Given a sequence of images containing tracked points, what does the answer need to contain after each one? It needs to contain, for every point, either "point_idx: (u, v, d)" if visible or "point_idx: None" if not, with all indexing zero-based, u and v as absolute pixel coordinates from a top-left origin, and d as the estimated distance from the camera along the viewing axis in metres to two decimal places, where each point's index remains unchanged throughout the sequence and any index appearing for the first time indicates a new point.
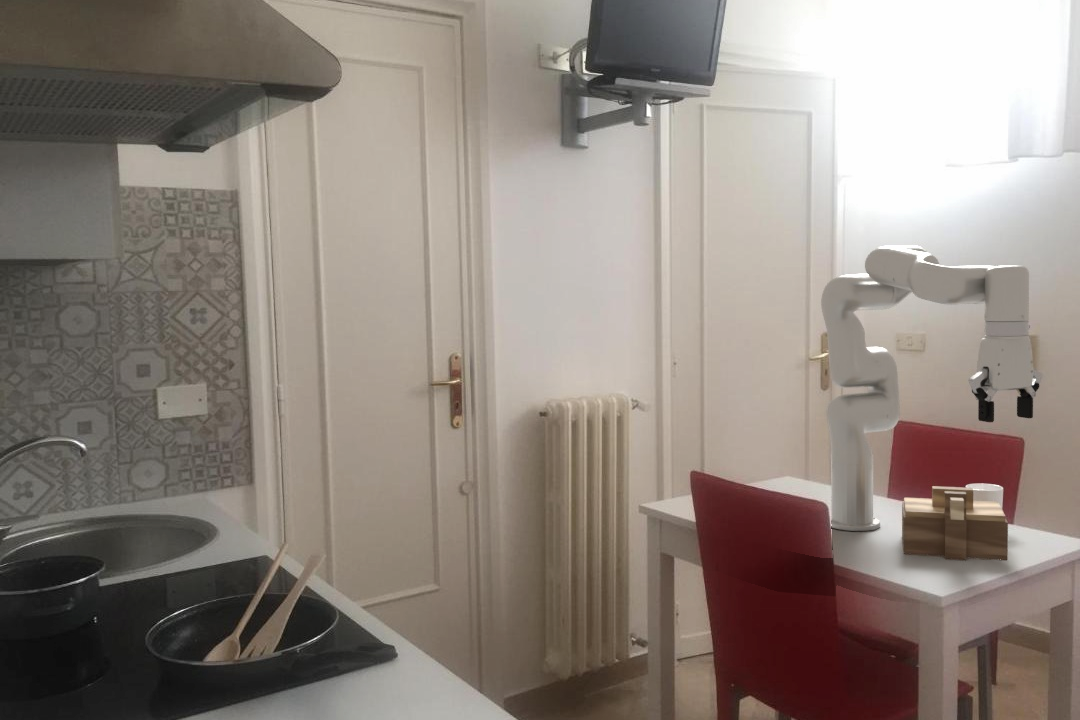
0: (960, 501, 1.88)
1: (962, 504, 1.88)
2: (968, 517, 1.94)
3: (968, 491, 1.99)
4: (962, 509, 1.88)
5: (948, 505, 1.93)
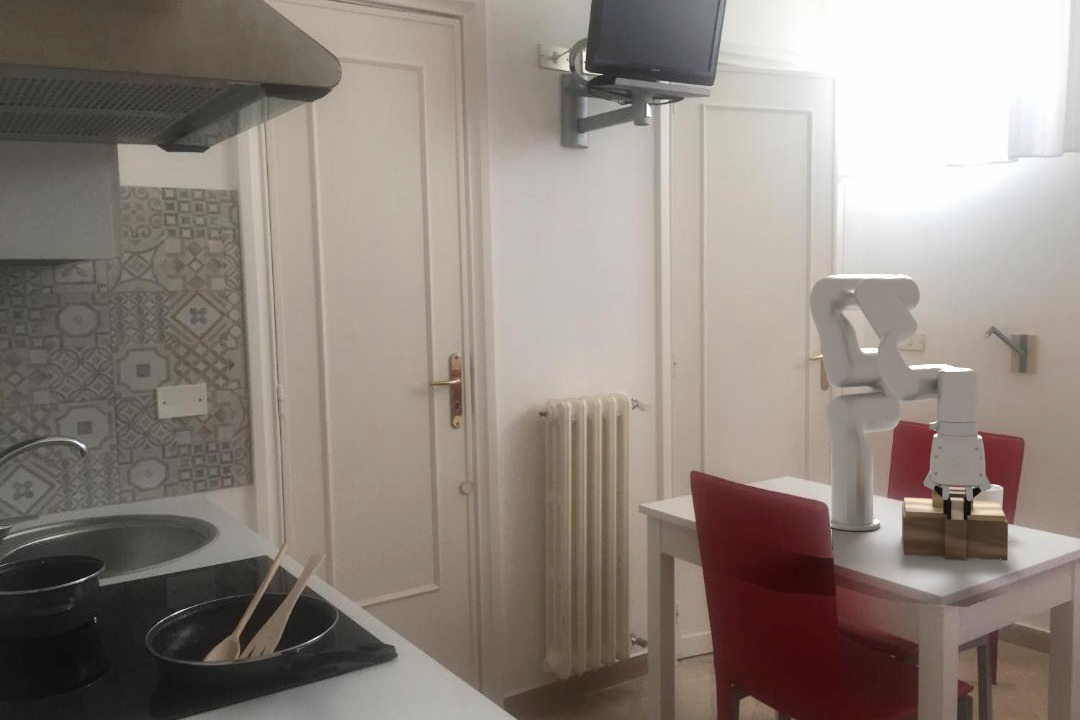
0: (960, 501, 1.88)
1: (962, 504, 1.88)
2: (968, 517, 1.94)
3: None
4: (962, 509, 1.88)
5: None
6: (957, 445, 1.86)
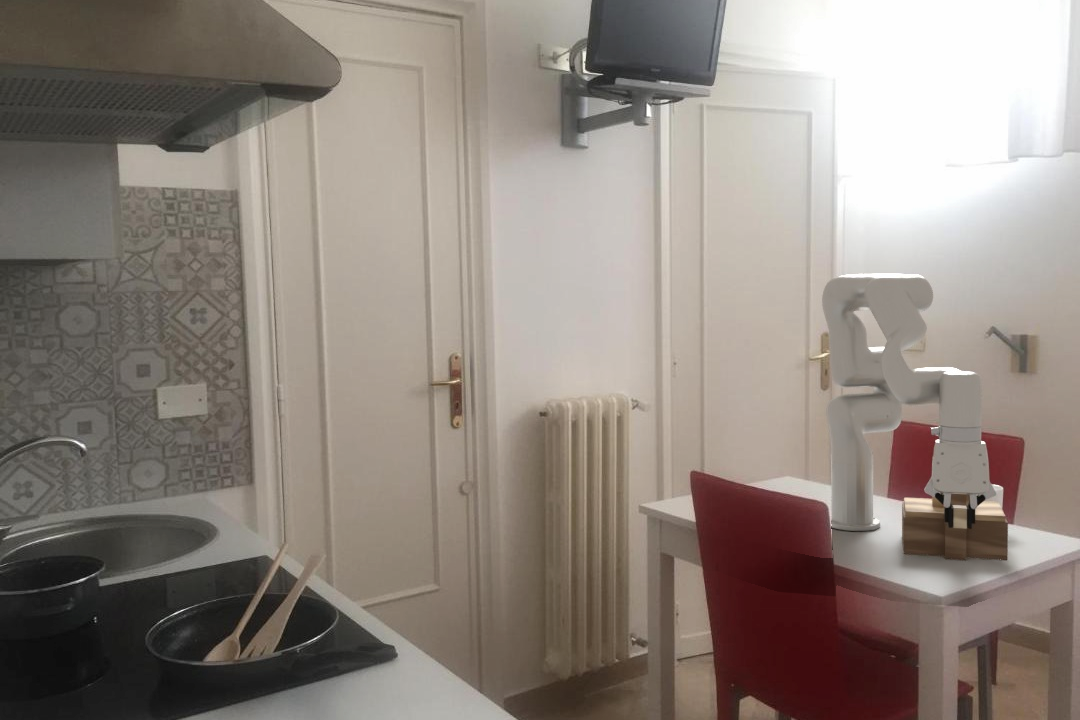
0: (963, 509, 1.82)
1: (965, 512, 1.82)
2: None
3: None
4: (965, 517, 1.82)
5: None
6: (960, 451, 1.80)
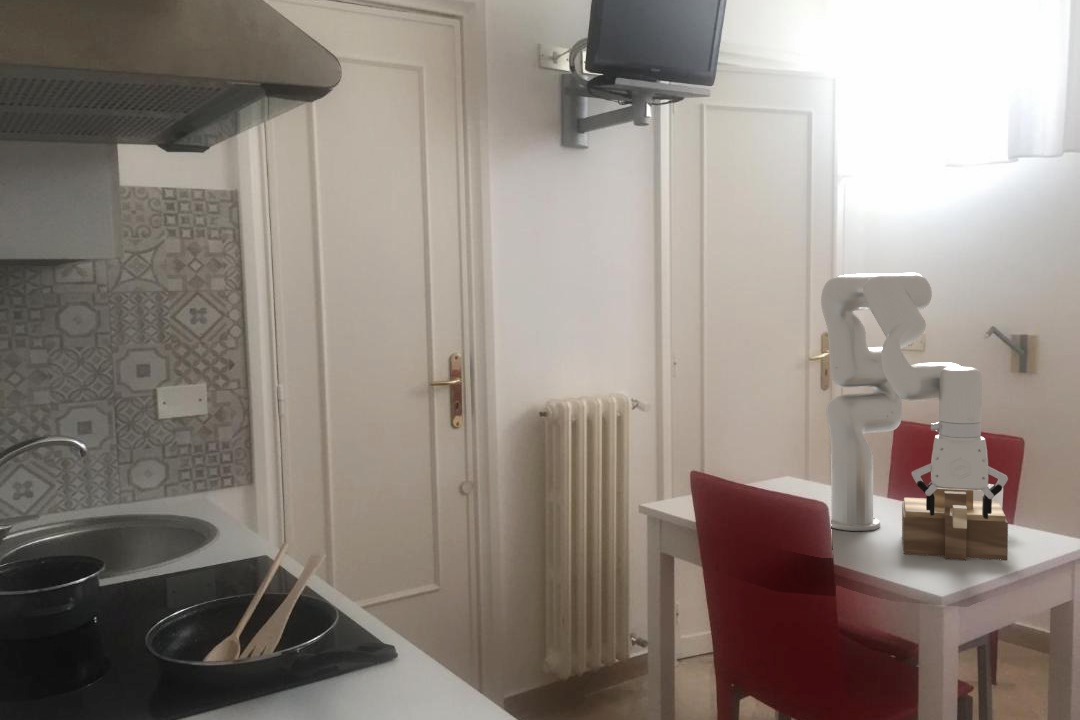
0: (963, 509, 1.82)
1: (965, 512, 1.82)
2: (968, 517, 1.94)
3: (968, 491, 1.99)
4: (965, 517, 1.82)
5: (948, 505, 1.93)
6: (959, 447, 1.80)
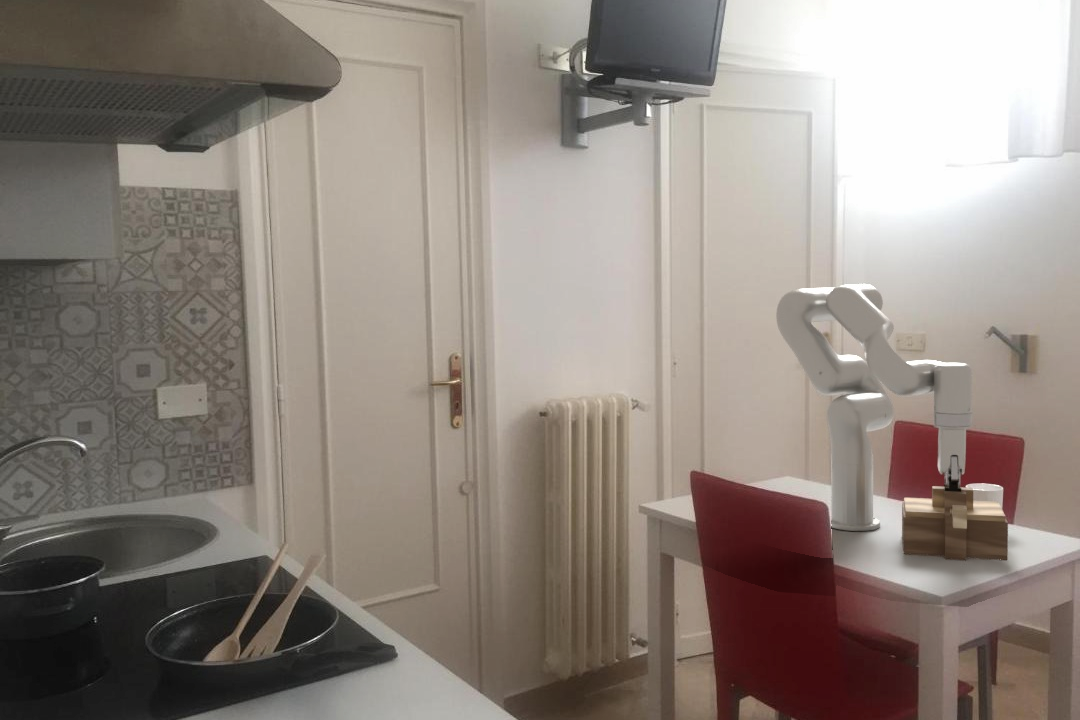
0: (963, 509, 1.82)
1: (965, 512, 1.82)
2: (968, 517, 1.94)
3: (968, 491, 1.99)
4: (965, 517, 1.82)
5: (948, 505, 1.93)
6: (938, 433, 2.01)
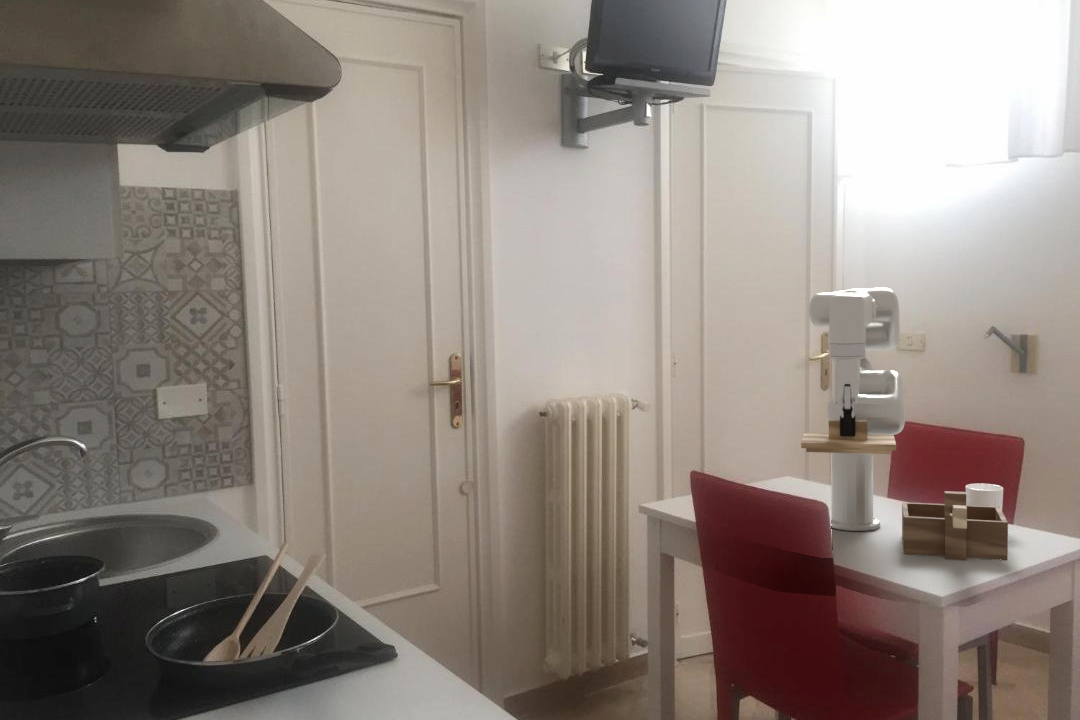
0: (963, 509, 1.82)
1: (965, 512, 1.82)
2: (861, 447, 1.97)
3: (862, 422, 2.01)
4: (965, 517, 1.82)
5: (948, 505, 1.93)
6: None
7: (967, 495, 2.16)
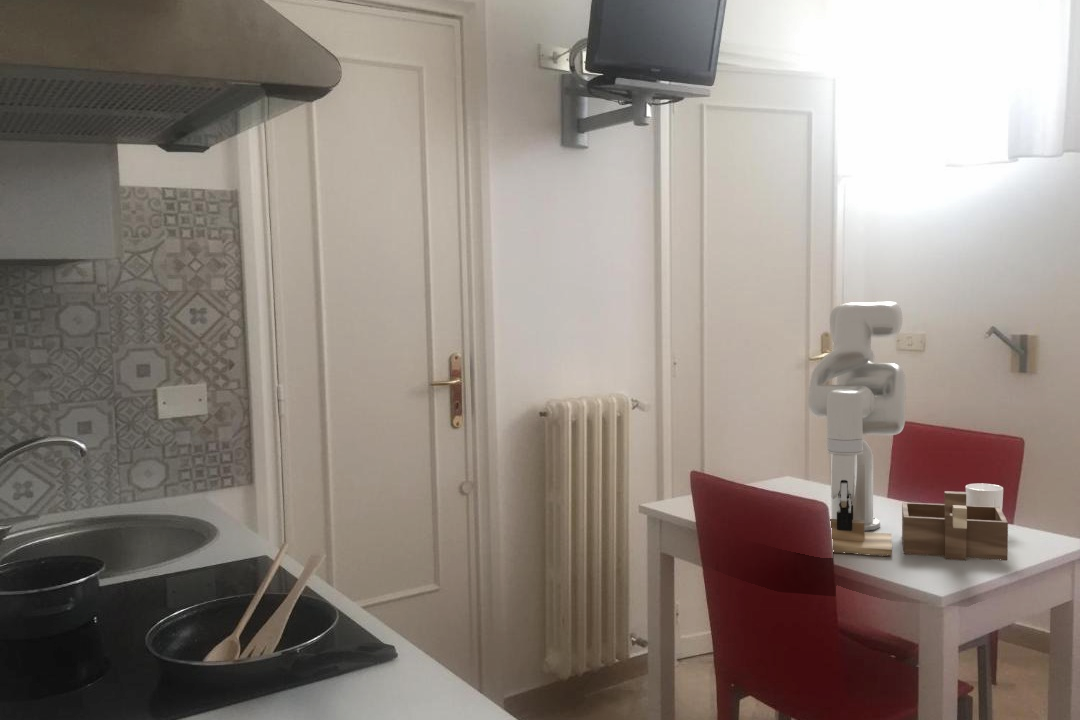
0: (963, 509, 1.82)
1: (965, 512, 1.82)
2: (857, 550, 1.99)
3: (859, 524, 2.03)
4: (965, 517, 1.82)
5: (948, 505, 1.93)
6: None
7: (967, 495, 2.16)
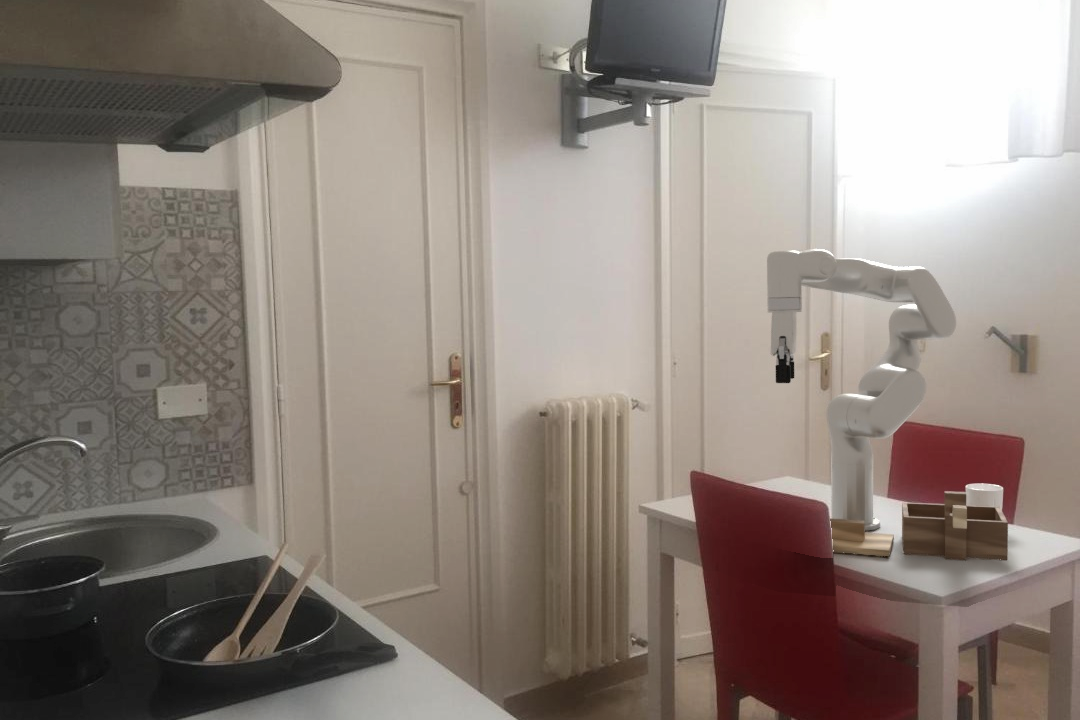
0: (963, 509, 1.82)
1: (965, 512, 1.82)
2: (854, 550, 1.99)
3: (859, 524, 2.03)
4: (965, 517, 1.82)
5: (948, 505, 1.93)
6: None
7: (967, 495, 2.16)
